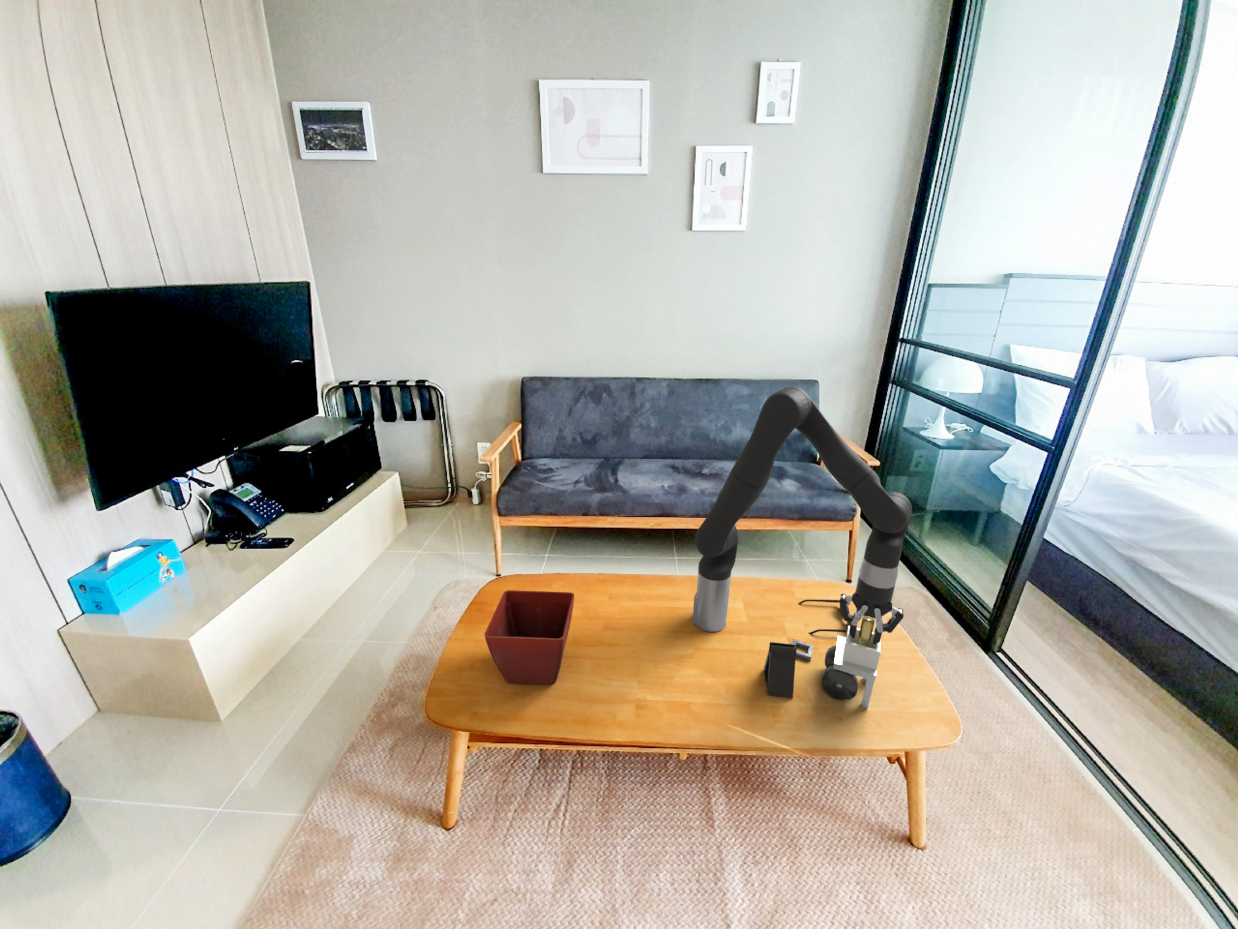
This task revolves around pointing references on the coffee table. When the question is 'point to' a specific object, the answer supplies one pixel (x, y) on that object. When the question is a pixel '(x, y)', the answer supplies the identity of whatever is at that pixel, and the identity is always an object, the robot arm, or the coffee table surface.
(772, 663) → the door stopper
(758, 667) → the coffee table surface
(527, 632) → the plant pot
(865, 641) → the pin
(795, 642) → the pin socket
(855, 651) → the tray
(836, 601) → the eyeglasses
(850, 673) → the trolley
